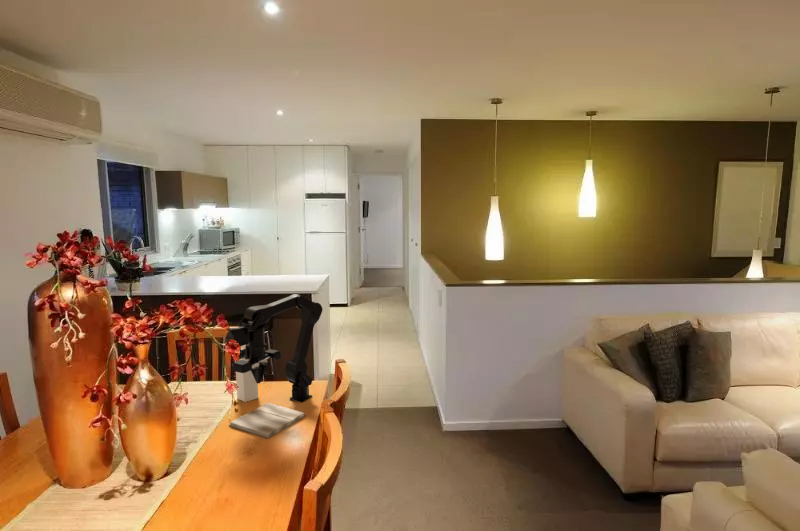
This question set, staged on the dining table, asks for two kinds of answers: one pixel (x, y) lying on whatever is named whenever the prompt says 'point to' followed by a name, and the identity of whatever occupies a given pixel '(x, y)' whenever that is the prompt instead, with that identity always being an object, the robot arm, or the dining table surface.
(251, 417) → the laid planks
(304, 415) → the underlay mat
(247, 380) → the milk
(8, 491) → the dining table surface
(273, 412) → the loose plank
